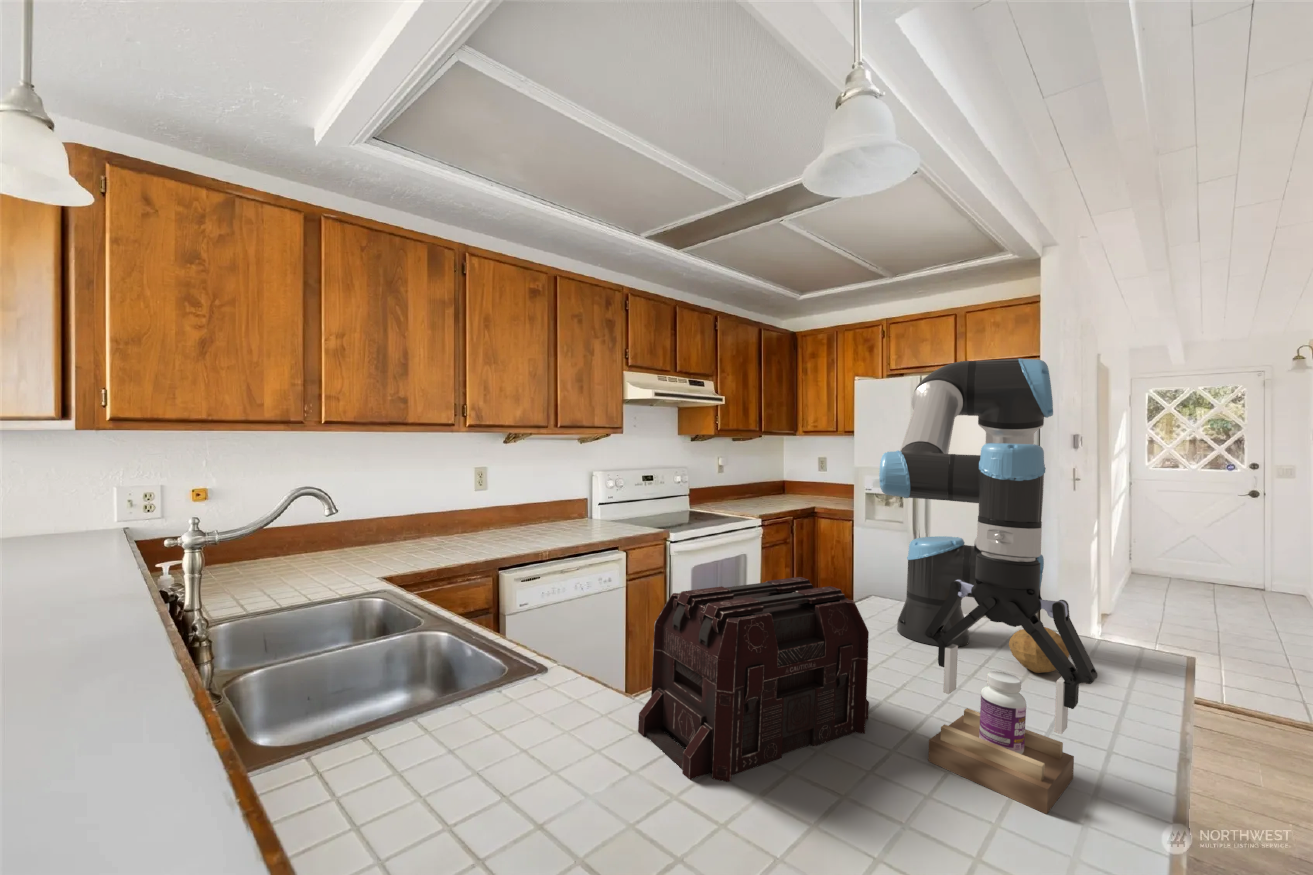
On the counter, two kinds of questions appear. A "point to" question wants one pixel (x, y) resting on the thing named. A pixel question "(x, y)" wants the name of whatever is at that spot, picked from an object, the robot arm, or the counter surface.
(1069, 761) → the display pedestal
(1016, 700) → the pill bottle
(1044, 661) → the potato
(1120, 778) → the counter surface
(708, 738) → the crate
